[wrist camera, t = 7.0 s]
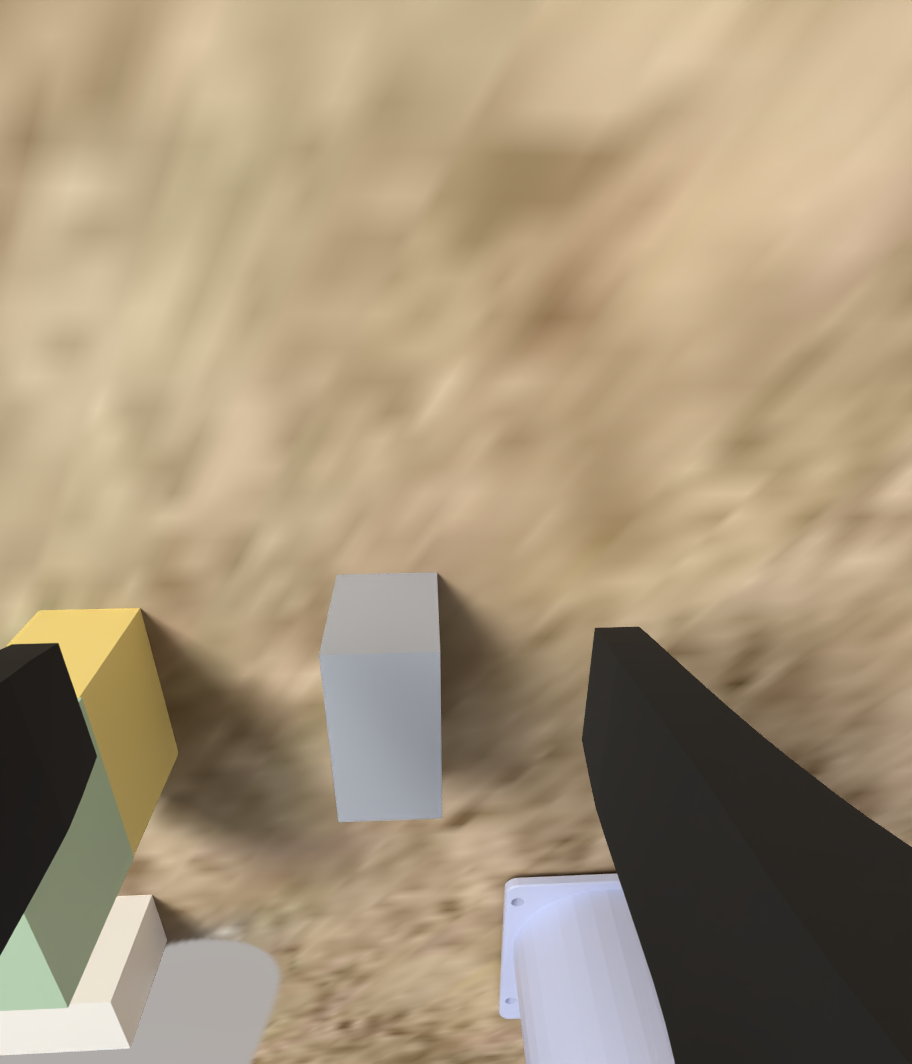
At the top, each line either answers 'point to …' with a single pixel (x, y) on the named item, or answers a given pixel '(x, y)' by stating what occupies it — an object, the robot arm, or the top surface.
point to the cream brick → (98, 989)
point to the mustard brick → (116, 701)
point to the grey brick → (384, 696)
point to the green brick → (68, 903)
